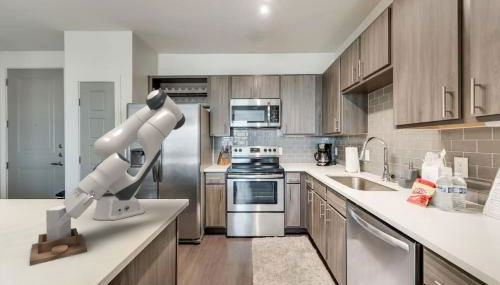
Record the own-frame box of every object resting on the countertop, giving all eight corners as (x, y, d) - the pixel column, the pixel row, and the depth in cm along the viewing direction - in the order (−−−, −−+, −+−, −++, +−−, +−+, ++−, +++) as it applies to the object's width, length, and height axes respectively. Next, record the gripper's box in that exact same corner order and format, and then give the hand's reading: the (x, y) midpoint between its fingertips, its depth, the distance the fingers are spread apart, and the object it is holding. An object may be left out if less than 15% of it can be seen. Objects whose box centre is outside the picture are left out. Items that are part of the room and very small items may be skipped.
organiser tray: (81, 237, 92) (81, 226, 92) (87, 251, 80) (87, 238, 80) (31, 247, 83) (31, 235, 83) (29, 265, 71) (29, 251, 71)
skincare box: (58, 239, 86) (58, 205, 86) (71, 238, 86) (71, 204, 86) (45, 246, 80) (45, 209, 80) (59, 246, 80) (59, 209, 80)
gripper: (103, 199, 83) (67, 235, 76) (93, 190, 98) (63, 219, 92) (87, 188, 80) (48, 224, 73) (80, 180, 95) (47, 210, 89)
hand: (56, 221), depth 83 cm, fingers closed on skincare box, 7 cm apart
